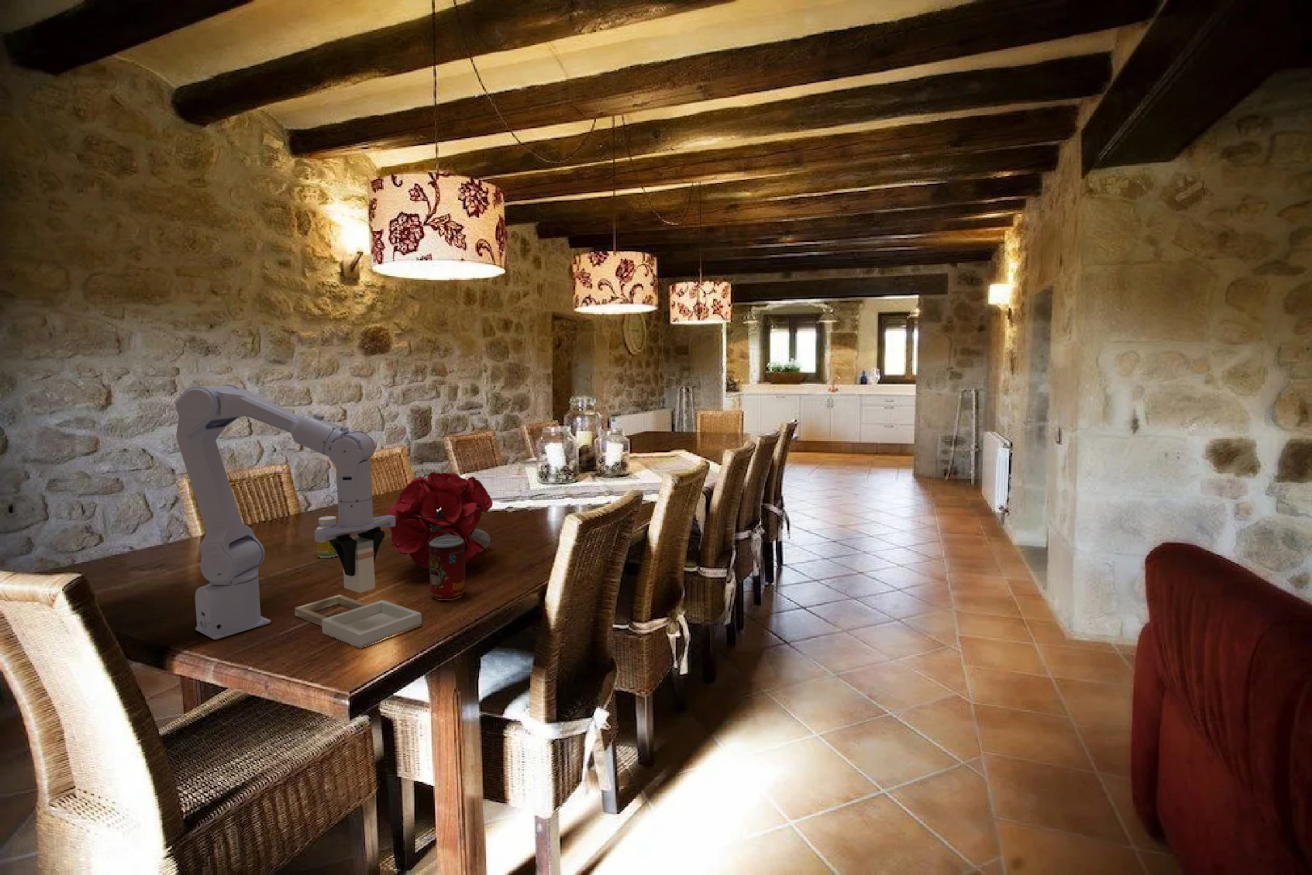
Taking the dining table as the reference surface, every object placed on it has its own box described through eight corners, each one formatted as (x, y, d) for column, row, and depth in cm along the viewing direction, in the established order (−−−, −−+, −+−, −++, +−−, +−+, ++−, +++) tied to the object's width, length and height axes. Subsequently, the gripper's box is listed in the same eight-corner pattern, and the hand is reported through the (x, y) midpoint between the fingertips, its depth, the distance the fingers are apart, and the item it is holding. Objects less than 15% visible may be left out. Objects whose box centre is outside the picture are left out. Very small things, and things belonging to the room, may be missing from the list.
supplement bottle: (331, 559, 163) (329, 520, 162) (312, 558, 164) (310, 519, 163) (346, 553, 168) (344, 515, 167) (327, 552, 169) (325, 514, 168)
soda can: (422, 599, 135) (421, 540, 133) (446, 588, 141) (445, 532, 140) (450, 604, 132) (448, 544, 131) (473, 593, 138) (471, 536, 137)
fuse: (359, 593, 118) (357, 544, 117) (343, 587, 121) (341, 539, 120) (375, 588, 121) (373, 540, 120) (359, 583, 123) (357, 536, 122)
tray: (360, 649, 111) (360, 635, 111) (322, 632, 118) (321, 619, 117) (421, 626, 121) (421, 613, 121) (383, 612, 128) (382, 599, 127)
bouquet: (430, 576, 170) (355, 546, 144) (460, 491, 179) (394, 448, 152) (503, 591, 164) (438, 563, 137) (530, 501, 172) (474, 458, 146)
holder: (326, 628, 120) (325, 620, 120) (295, 615, 126) (294, 607, 126) (371, 613, 127) (371, 605, 127) (340, 601, 133) (339, 594, 133)
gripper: (328, 509, 111) (332, 587, 112) (404, 494, 123) (407, 565, 124) (306, 504, 115) (310, 580, 116) (381, 491, 126) (385, 559, 128)
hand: (359, 572), depth 120 cm, fingers closed on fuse, 3 cm apart
